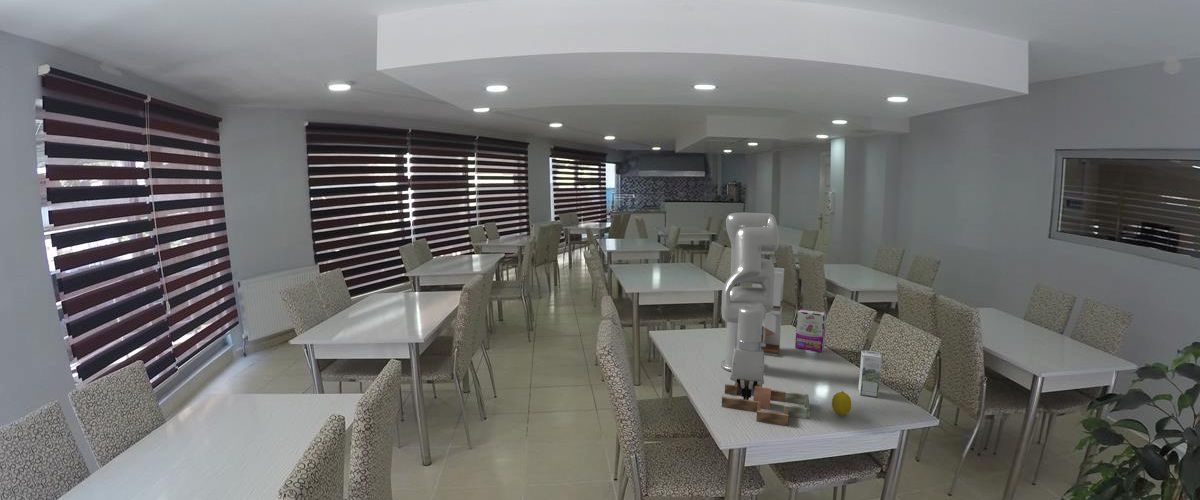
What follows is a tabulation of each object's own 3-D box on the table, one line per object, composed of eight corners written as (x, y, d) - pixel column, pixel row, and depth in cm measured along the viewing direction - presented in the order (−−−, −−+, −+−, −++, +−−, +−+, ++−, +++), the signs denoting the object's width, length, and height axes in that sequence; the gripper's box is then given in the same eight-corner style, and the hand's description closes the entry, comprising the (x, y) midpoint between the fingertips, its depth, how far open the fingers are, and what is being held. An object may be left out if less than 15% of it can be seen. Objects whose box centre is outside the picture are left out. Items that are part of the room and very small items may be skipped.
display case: (748, 353, 229) (752, 270, 224) (751, 345, 239) (756, 266, 234) (777, 357, 225) (782, 272, 220) (779, 349, 234) (784, 268, 229)
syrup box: (875, 391, 190) (879, 351, 188) (878, 398, 185) (882, 356, 183) (857, 389, 192) (861, 349, 190) (859, 395, 187) (863, 354, 185)
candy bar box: (824, 349, 234) (827, 312, 232) (822, 353, 230) (824, 315, 228) (797, 345, 240) (799, 308, 238) (794, 348, 236) (796, 311, 234)
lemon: (827, 412, 173) (829, 388, 172) (844, 412, 174) (846, 387, 173) (836, 420, 168) (838, 395, 167) (853, 419, 168) (856, 395, 167)
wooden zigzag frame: (719, 415, 170) (719, 406, 170) (726, 384, 195) (727, 376, 194) (810, 428, 162) (811, 419, 162) (806, 395, 187) (807, 386, 186)
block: (753, 406, 177) (754, 391, 176) (754, 400, 182) (755, 386, 181) (769, 409, 175) (770, 394, 175) (770, 402, 180) (771, 388, 179)
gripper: (773, 344, 179) (770, 397, 181) (726, 339, 183) (724, 391, 186) (772, 351, 172) (769, 407, 174) (724, 345, 176) (721, 400, 179)
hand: (746, 398), depth 180 cm, fingers closed
